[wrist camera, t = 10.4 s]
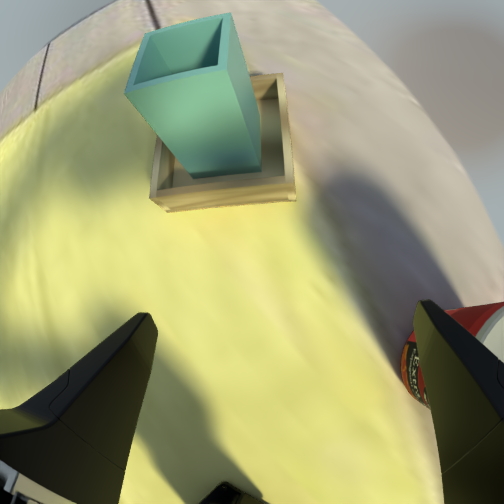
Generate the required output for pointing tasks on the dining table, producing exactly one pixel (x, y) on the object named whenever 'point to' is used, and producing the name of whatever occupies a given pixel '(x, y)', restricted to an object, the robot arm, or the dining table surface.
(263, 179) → the pine crate
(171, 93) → the teal crate
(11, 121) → the dining table surface
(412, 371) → the canned food
